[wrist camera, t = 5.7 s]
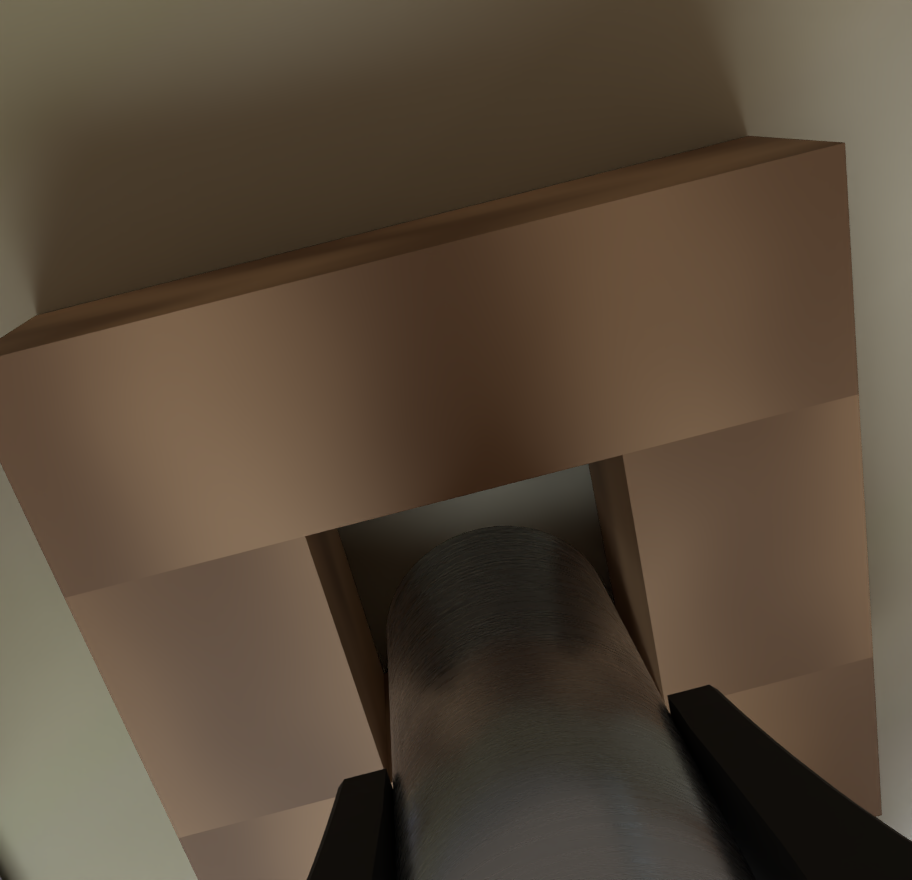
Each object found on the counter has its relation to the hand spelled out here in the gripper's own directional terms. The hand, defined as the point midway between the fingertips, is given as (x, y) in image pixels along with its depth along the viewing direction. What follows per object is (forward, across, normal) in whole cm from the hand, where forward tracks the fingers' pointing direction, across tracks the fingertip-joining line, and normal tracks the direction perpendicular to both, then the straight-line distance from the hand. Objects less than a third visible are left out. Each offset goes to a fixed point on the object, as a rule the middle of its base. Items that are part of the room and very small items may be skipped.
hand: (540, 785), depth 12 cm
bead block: (+7, 0, 0) cm, 7 cm away
